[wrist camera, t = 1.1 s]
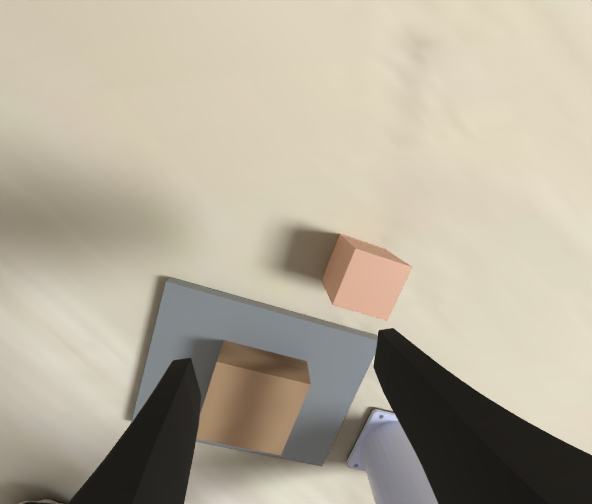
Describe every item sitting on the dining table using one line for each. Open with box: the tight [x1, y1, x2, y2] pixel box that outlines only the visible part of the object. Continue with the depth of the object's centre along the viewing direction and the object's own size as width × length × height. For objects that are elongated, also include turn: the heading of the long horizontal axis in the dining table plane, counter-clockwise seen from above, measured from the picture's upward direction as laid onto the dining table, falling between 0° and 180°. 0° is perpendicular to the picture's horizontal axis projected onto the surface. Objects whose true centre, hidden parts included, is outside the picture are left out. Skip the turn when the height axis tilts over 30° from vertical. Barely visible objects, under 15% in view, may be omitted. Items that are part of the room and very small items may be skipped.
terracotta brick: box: [322, 234, 412, 321], centre depth 22 cm, size 4×4×5 cm
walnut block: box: [196, 340, 311, 456], centre depth 25 cm, size 8×8×3 cm
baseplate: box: [131, 277, 378, 466], centre depth 27 cm, size 20×16×1 cm
